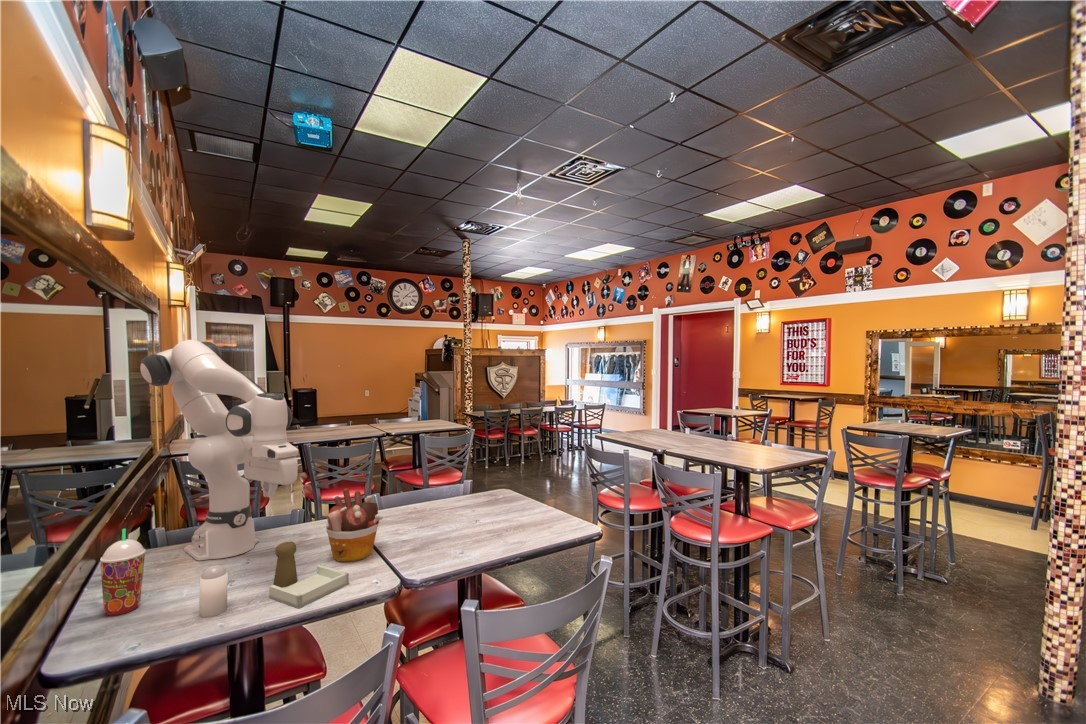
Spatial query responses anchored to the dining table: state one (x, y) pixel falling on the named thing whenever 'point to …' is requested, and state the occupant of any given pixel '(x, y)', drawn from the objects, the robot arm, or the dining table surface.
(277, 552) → the brown chess pawn
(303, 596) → the tray
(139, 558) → the smoothie
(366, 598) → the dining table surface
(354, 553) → the bucket of meat
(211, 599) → the salt shaker
